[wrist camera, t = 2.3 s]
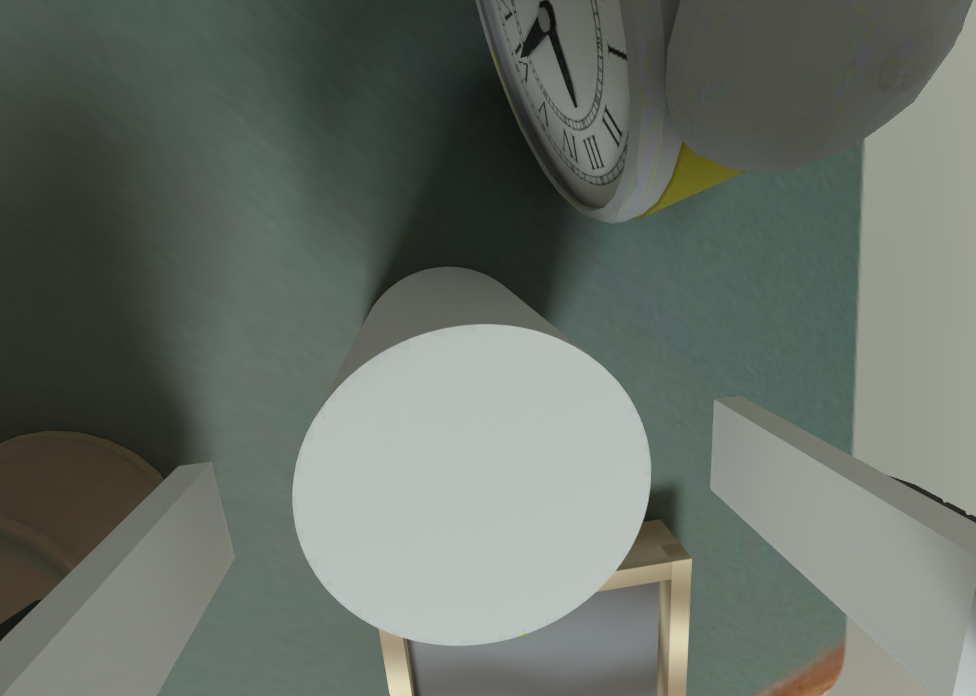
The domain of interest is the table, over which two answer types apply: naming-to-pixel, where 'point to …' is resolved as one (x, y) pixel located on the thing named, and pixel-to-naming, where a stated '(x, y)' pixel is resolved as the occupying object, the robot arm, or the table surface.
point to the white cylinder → (468, 467)
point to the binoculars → (60, 507)
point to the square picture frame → (574, 640)
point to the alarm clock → (704, 86)
